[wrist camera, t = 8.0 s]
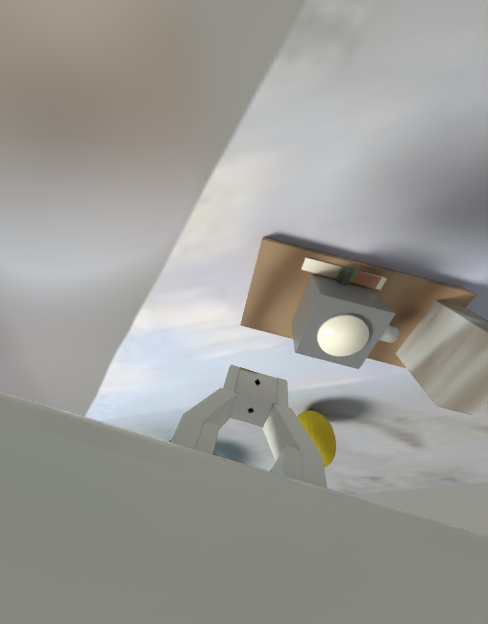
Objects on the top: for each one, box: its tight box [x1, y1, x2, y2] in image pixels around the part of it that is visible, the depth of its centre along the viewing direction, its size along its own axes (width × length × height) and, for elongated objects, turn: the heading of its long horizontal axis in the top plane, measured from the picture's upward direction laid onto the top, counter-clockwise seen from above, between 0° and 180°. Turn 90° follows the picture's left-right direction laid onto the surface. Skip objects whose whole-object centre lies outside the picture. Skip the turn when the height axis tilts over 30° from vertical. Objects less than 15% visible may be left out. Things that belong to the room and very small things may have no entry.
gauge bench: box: [241, 237, 488, 415], centre depth 20 cm, size 21×10×8 cm, turn 77°
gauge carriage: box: [291, 265, 399, 369], centre depth 19 cm, size 9×8×5 cm
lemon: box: [297, 410, 336, 467], centre depth 29 cm, size 6×6×8 cm
